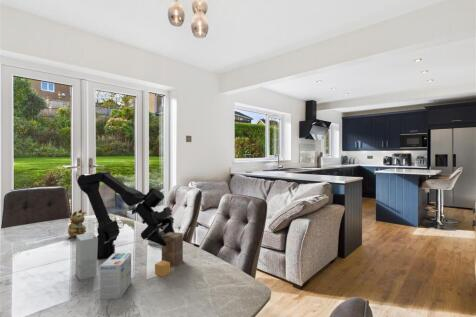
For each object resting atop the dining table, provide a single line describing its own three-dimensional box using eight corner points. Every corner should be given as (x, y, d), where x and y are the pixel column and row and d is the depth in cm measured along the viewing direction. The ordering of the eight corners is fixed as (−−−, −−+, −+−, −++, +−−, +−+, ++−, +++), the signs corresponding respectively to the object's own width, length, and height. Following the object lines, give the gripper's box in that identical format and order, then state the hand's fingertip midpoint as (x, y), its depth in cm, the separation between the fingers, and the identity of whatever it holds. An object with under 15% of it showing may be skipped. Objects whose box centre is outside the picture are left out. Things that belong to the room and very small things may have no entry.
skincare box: (74, 273, 99) (74, 234, 99) (92, 268, 103) (92, 231, 103) (80, 280, 93) (80, 239, 93) (98, 275, 97) (98, 236, 97)
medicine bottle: (159, 245, 132) (159, 221, 132) (147, 244, 133) (147, 221, 133) (166, 240, 139) (166, 218, 139) (154, 239, 140) (154, 217, 140)
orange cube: (154, 274, 98) (154, 264, 98) (162, 270, 102) (162, 260, 102) (162, 276, 96) (162, 266, 96) (170, 272, 100) (170, 262, 100)
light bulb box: (112, 283, 91) (112, 252, 91) (132, 282, 92) (131, 252, 92) (98, 299, 81) (98, 265, 81) (120, 298, 81) (120, 264, 81)
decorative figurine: (77, 238, 142) (77, 211, 142) (63, 238, 143) (63, 211, 143) (88, 233, 152) (88, 208, 152) (74, 233, 152) (74, 208, 152)
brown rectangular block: (161, 265, 106) (161, 236, 107) (169, 259, 113) (169, 232, 113) (176, 266, 105) (175, 237, 105) (182, 260, 111) (182, 233, 111)
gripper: (147, 206, 101) (173, 236, 99) (170, 198, 119) (192, 223, 117) (130, 224, 103) (154, 254, 100) (155, 214, 121) (176, 239, 119)
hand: (171, 241), depth 109 cm, fingers open, 9 cm apart
